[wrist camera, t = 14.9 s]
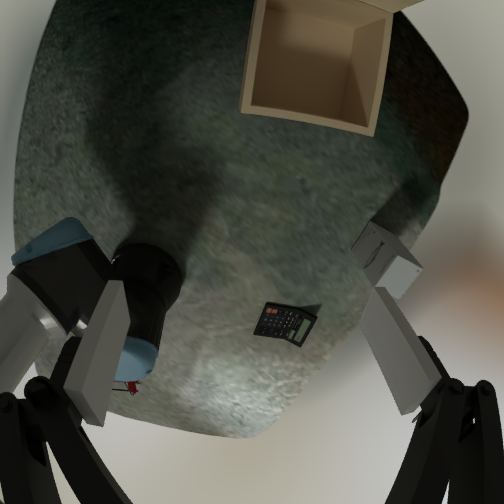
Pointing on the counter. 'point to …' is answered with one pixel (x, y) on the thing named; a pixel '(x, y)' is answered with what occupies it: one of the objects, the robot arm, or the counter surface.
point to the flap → (391, 4)
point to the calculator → (285, 323)
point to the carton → (317, 62)
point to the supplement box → (386, 260)
